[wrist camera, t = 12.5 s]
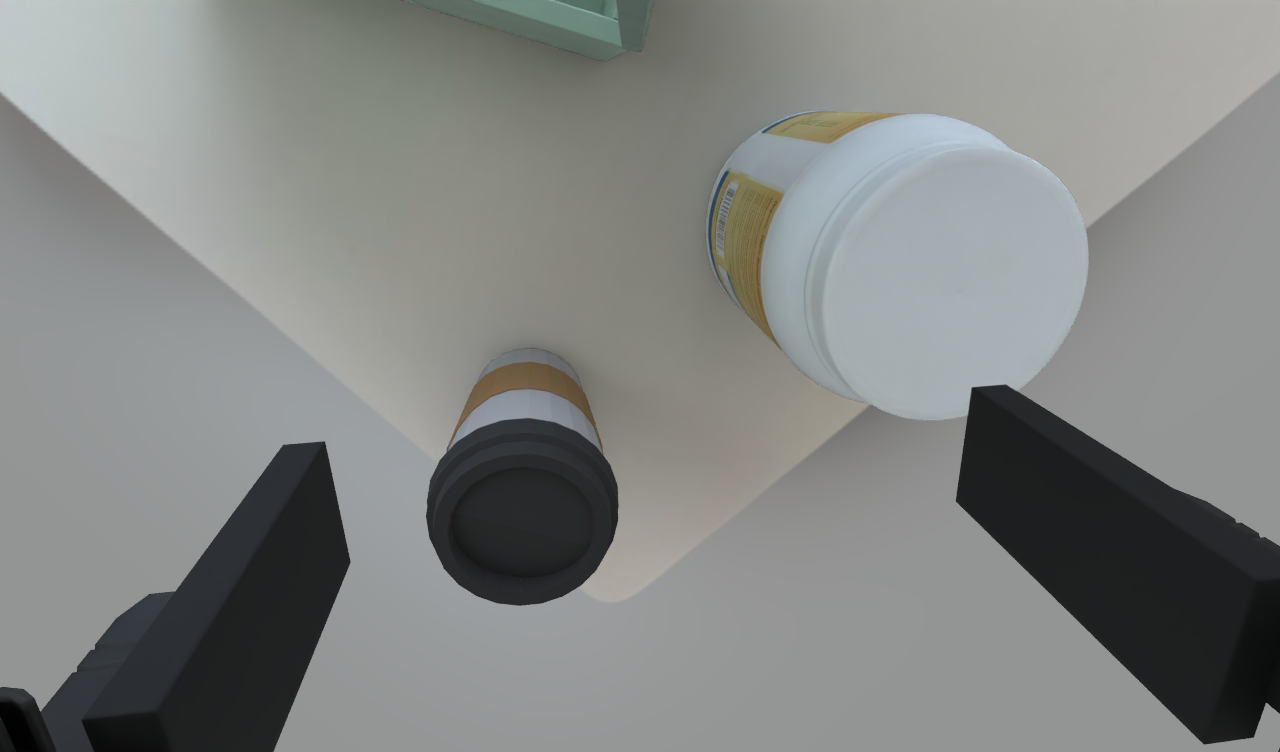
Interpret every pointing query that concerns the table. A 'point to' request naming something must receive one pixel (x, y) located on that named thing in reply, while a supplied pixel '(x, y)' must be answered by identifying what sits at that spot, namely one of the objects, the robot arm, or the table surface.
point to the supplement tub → (898, 255)
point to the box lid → (633, 22)
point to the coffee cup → (523, 485)
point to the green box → (545, 21)
